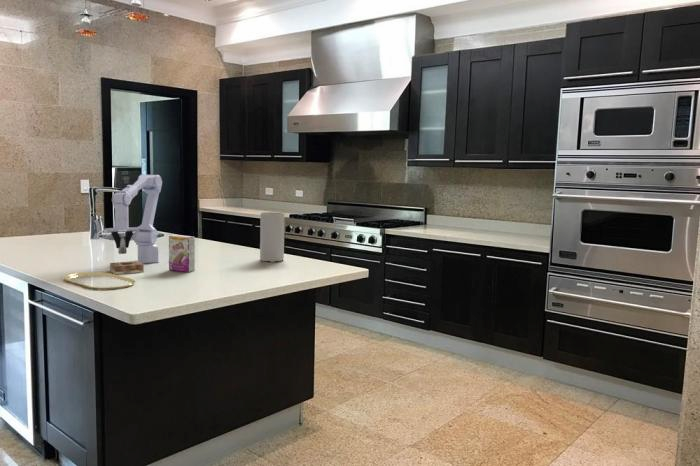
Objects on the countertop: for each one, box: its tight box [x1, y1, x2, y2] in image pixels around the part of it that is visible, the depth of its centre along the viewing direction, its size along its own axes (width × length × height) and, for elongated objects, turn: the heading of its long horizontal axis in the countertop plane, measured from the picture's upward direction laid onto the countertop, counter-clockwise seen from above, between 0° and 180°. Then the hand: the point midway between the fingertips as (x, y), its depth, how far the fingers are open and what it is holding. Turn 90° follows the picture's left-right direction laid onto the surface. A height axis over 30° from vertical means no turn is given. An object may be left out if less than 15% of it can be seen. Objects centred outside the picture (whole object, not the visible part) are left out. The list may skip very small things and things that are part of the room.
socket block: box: [109, 260, 145, 275], centre depth 250 cm, size 12×10×4 cm
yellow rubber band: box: [64, 271, 136, 290], centre depth 227 cm, size 19×35×2 cm, turn 53°
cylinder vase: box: [259, 211, 285, 263], centre depth 289 cm, size 12×12×25 cm
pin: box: [117, 235, 127, 255], centre depth 254 cm, size 4×4×8 cm
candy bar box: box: [168, 234, 196, 273], centre depth 254 cm, size 11×5×16 cm, turn 71°
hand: (122, 247), depth 254 cm, fingers closed on pin, 3 cm apart
